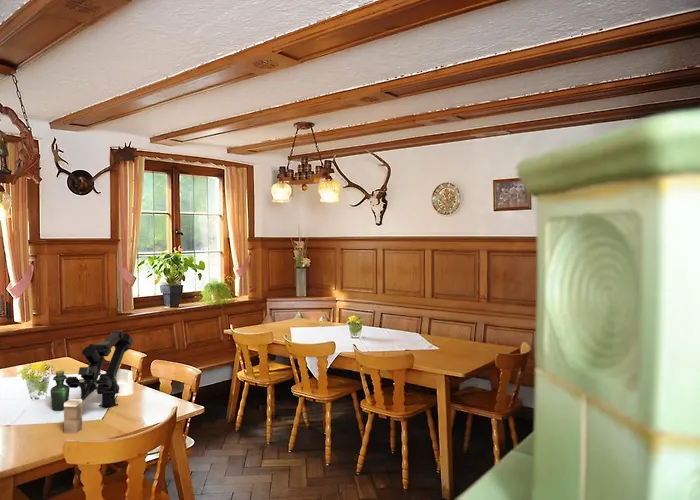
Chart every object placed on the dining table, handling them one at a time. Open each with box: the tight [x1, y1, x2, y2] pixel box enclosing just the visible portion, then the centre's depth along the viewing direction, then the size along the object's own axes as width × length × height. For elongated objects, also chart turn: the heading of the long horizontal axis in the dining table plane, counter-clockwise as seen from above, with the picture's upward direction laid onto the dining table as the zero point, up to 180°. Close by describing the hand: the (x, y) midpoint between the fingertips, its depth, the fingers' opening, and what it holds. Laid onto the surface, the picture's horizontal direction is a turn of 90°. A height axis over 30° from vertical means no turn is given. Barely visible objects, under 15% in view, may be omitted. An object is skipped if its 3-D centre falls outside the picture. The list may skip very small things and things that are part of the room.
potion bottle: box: [50, 370, 71, 412], centre depth 245 cm, size 8×8×18 cm
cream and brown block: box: [63, 398, 83, 435], centre depth 217 cm, size 5×5×13 cm
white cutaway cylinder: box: [115, 368, 135, 397], centre depth 270 cm, size 9×9×12 cm
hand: (82, 399), depth 225 cm, fingers closed
